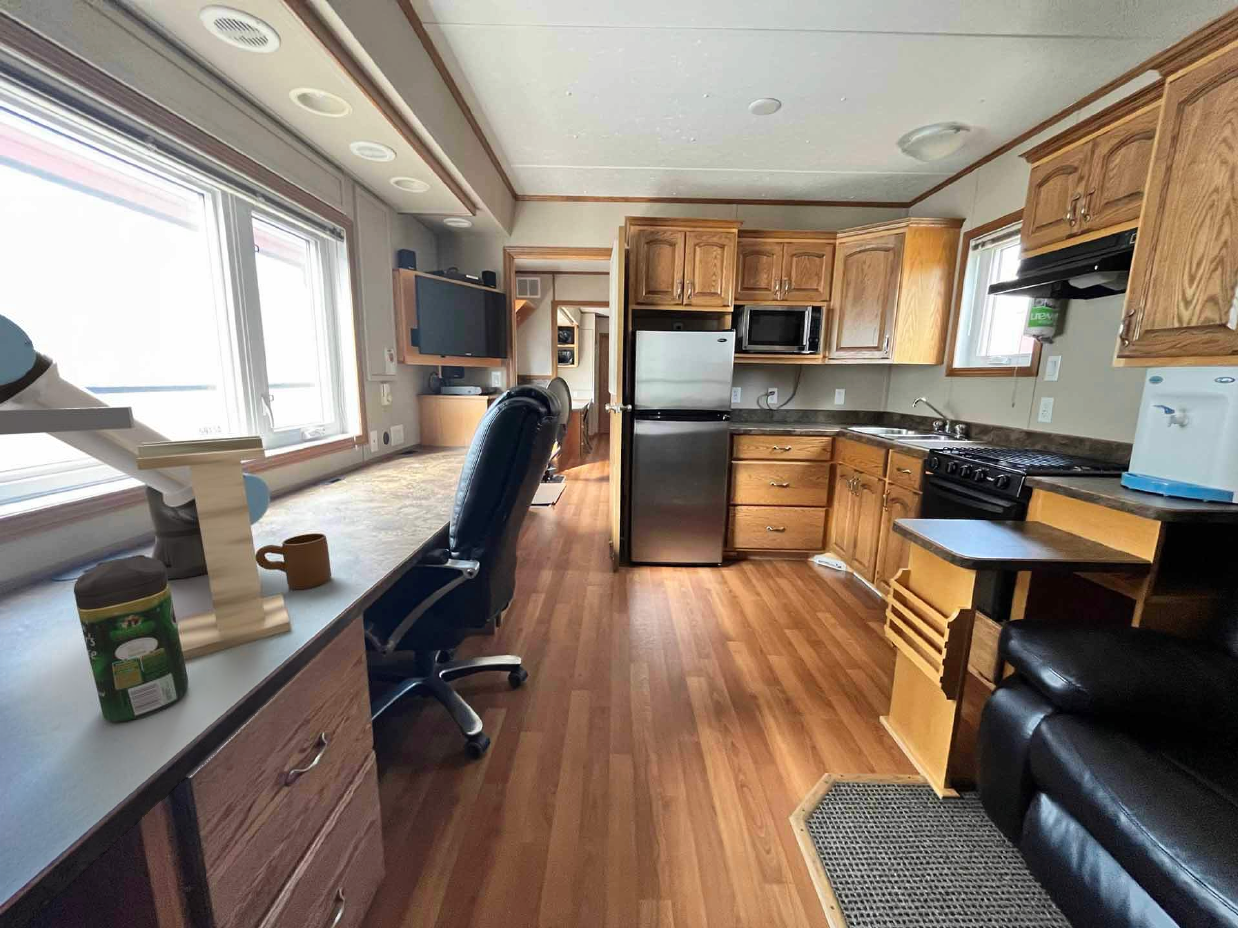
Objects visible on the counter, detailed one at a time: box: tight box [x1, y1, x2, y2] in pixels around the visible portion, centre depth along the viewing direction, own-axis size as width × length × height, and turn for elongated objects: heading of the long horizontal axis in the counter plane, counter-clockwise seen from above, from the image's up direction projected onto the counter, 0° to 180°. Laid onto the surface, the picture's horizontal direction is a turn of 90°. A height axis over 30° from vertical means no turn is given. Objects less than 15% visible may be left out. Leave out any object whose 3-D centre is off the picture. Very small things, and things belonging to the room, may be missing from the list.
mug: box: [255, 532, 332, 591], centre depth 94 cm, size 12×8×9 cm, turn 120°
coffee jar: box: [73, 554, 189, 724], centre depth 58 cm, size 10×8×19 cm
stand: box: [136, 435, 291, 661], centre depth 75 cm, size 14×14×32 cm
